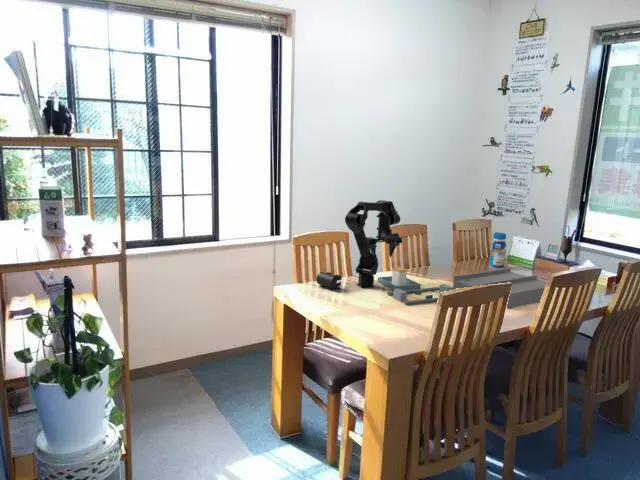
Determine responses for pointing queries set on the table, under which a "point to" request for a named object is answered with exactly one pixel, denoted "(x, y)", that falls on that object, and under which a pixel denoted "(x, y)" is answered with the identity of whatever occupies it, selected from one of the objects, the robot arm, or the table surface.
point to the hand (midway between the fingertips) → (382, 257)
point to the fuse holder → (402, 294)
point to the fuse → (399, 276)
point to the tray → (388, 283)
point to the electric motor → (328, 280)
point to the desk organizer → (522, 286)
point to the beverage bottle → (498, 251)
